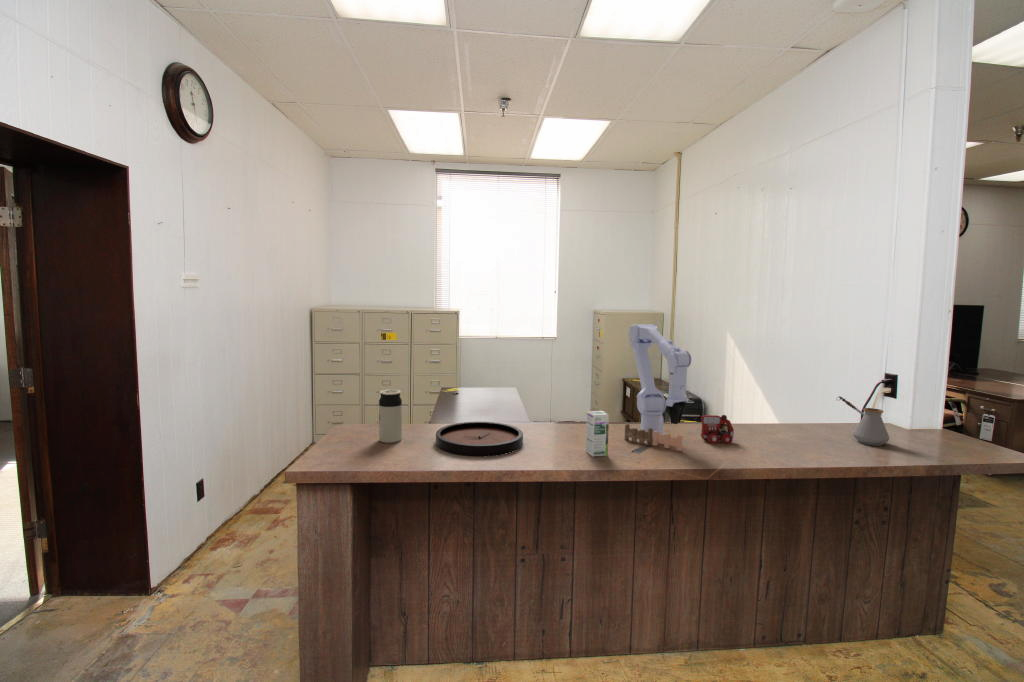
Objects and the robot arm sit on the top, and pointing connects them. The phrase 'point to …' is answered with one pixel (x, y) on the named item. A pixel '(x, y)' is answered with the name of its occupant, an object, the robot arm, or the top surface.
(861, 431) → the coffee pot
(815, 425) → the top surface
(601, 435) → the syrup box
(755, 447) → the top surface
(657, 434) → the folding fence panel
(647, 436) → the fixed fence section
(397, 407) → the travel mug
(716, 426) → the toy fire truck
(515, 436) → the wall clock
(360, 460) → the top surface
